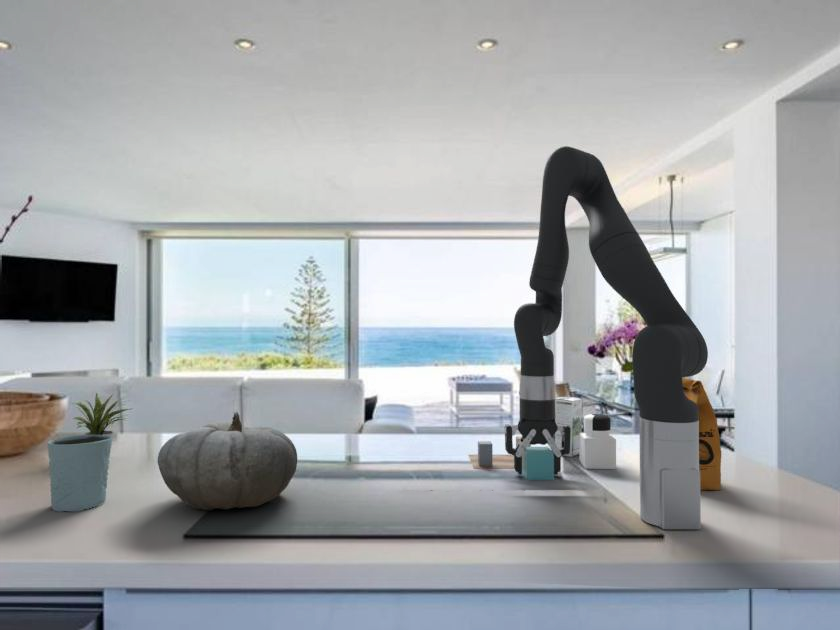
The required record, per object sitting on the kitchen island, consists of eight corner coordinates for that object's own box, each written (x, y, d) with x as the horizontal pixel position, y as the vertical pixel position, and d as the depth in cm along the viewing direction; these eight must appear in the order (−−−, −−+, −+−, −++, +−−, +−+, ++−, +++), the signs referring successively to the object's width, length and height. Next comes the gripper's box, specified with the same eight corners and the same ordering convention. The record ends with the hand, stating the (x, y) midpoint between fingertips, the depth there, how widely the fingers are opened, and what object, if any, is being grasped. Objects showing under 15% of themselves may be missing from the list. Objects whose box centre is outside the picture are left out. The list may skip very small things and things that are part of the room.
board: (545, 473, 126) (545, 446, 126) (473, 473, 126) (473, 446, 126) (532, 458, 140) (532, 434, 140) (468, 458, 140) (468, 434, 140)
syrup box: (561, 450, 149) (561, 396, 149) (582, 454, 145) (582, 397, 146) (551, 454, 145) (551, 398, 145) (573, 457, 141) (572, 400, 141)
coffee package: (677, 491, 112) (676, 381, 113) (657, 474, 125) (656, 375, 125) (729, 492, 111) (728, 381, 112) (703, 476, 124) (702, 376, 124)
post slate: (492, 465, 128) (492, 444, 128) (479, 465, 128) (479, 444, 128) (490, 462, 131) (490, 441, 131) (477, 462, 131) (477, 441, 131)
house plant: (100, 467, 130) (101, 397, 131) (47, 465, 132) (48, 396, 133) (140, 454, 144) (141, 390, 145) (92, 452, 146) (93, 389, 147)
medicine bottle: (609, 462, 136) (608, 412, 136) (616, 469, 129) (616, 417, 129) (579, 461, 137) (578, 412, 137) (584, 469, 130) (584, 417, 130)
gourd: (145, 517, 88) (161, 406, 92) (155, 500, 111) (167, 411, 114) (305, 515, 97) (312, 414, 101) (283, 499, 120) (290, 417, 123)
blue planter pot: (37, 515, 97) (38, 445, 97) (58, 498, 107) (59, 435, 107) (102, 510, 100) (103, 442, 100) (117, 494, 110) (117, 432, 110)
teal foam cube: (553, 484, 117) (553, 452, 117) (526, 484, 117) (526, 452, 117) (547, 477, 123) (547, 446, 123) (522, 477, 123) (521, 446, 123)
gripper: (506, 398, 117) (506, 478, 116) (575, 398, 117) (575, 478, 116) (501, 394, 124) (501, 469, 124) (566, 394, 124) (566, 469, 124)
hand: (537, 473), depth 120 cm, fingers open, 7 cm apart
